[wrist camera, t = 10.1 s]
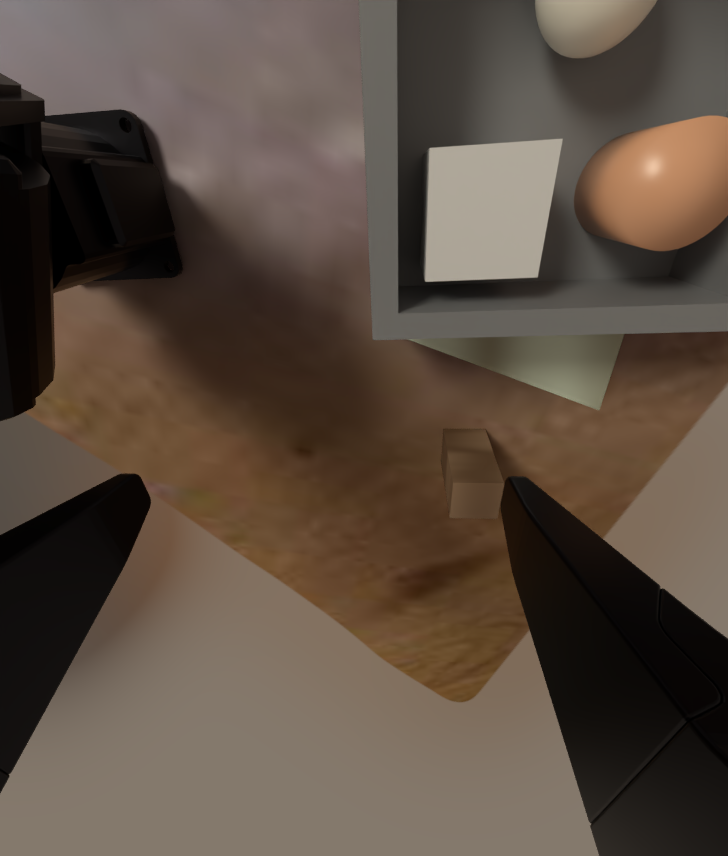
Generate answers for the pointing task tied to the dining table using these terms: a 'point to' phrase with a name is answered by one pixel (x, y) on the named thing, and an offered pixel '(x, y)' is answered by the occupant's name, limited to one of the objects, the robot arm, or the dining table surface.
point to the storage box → (545, 166)
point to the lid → (530, 363)
